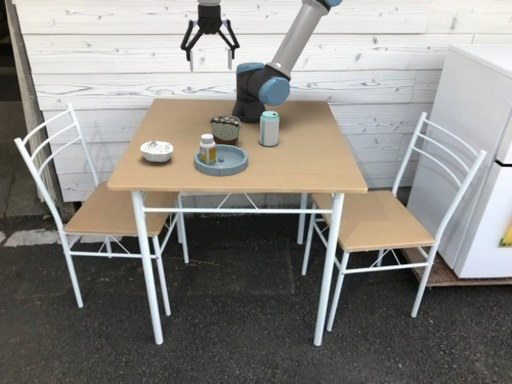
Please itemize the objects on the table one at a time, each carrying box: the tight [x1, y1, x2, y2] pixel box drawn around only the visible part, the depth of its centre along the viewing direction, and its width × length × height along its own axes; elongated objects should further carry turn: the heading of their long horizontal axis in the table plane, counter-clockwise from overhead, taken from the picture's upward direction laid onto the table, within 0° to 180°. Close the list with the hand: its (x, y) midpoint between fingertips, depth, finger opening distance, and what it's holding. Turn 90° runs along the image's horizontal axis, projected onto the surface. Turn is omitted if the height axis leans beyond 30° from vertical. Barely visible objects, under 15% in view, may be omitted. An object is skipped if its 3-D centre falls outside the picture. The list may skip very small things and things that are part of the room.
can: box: [259, 110, 280, 147], centre depth 153 cm, size 7×7×12 cm
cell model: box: [139, 140, 174, 163], centre depth 140 cm, size 10×12×7 cm
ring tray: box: [193, 144, 249, 177], centre depth 140 cm, size 18×18×3 cm
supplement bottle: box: [198, 133, 217, 166], centre depth 137 cm, size 5×5×10 cm
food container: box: [209, 114, 242, 147], centre depth 153 cm, size 12×6×10 cm, turn 71°
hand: (211, 69), depth 143 cm, fingers open, 13 cm apart
